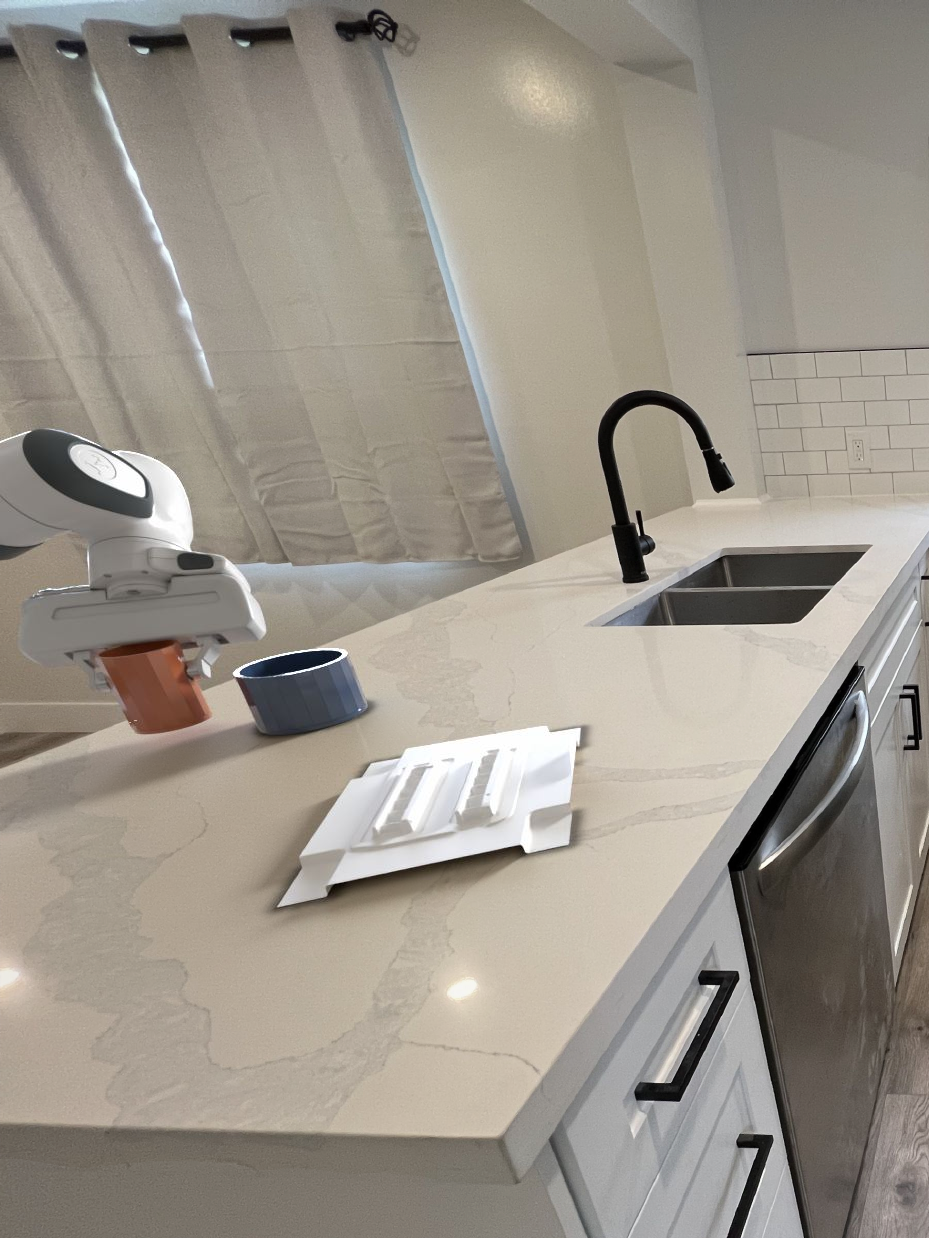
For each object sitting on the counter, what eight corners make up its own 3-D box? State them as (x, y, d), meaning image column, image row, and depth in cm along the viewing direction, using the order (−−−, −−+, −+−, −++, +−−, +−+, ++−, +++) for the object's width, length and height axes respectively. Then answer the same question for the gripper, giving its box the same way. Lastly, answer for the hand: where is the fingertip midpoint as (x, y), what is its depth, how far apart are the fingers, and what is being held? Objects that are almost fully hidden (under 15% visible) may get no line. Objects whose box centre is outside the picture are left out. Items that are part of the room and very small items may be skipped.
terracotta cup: (121, 729, 90) (82, 654, 87) (194, 708, 96) (159, 637, 92) (152, 738, 88) (113, 660, 84) (225, 716, 93) (190, 642, 90)
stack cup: (239, 727, 94) (213, 672, 91) (335, 696, 103) (314, 645, 100) (291, 740, 90) (265, 682, 87) (387, 706, 99) (366, 653, 96)
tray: (275, 908, 61) (256, 866, 59) (372, 772, 84) (360, 740, 83) (571, 844, 68) (560, 805, 66) (583, 735, 92) (575, 705, 90)
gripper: (0, 576, 86) (1, 688, 82) (241, 554, 95) (252, 654, 91) (42, 607, 92) (45, 714, 88) (266, 584, 100) (277, 679, 96)
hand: (152, 683), depth 89 cm, fingers closed on terracotta cup, 7 cm apart
